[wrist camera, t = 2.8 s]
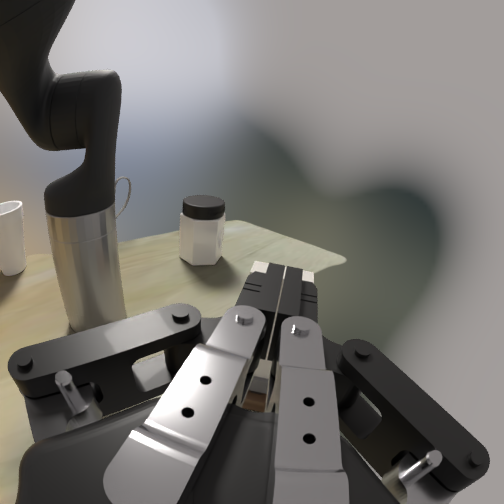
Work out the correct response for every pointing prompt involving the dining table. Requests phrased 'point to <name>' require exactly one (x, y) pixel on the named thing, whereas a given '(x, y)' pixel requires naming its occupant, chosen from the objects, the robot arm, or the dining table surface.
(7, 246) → the foam cup
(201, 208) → the jar
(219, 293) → the dining table surface
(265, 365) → the white grey block
